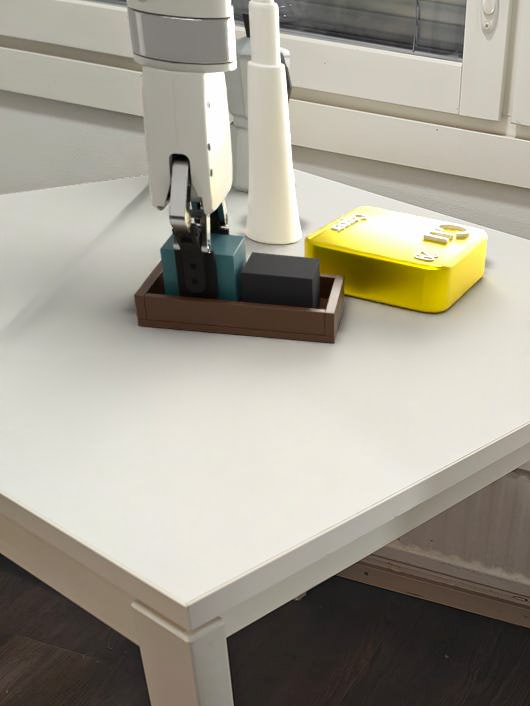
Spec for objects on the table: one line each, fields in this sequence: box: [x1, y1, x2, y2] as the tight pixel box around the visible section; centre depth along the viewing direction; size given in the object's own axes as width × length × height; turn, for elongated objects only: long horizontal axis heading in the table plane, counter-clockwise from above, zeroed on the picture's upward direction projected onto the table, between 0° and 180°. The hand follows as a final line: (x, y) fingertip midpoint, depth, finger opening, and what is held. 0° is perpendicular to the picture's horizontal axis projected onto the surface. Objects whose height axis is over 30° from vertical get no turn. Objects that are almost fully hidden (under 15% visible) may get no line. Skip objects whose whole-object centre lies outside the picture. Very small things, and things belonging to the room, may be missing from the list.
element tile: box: [303, 206, 488, 314], centre depth 89 cm, size 15×15×5 cm
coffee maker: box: [224, 11, 297, 193], centre depth 106 cm, size 15×9×18 cm, turn 34°
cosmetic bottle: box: [245, 0, 303, 245], centre depth 90 cm, size 6×6×22 cm
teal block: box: [159, 232, 247, 302], centre depth 77 cm, size 6×6×4 cm
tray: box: [133, 260, 345, 344], centre depth 79 cm, size 17×10×3 cm, turn 91°
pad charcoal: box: [241, 251, 320, 309], centre depth 79 cm, size 6×6×4 cm
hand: (206, 283), depth 78 cm, fingers closed on teal block, 5 cm apart
